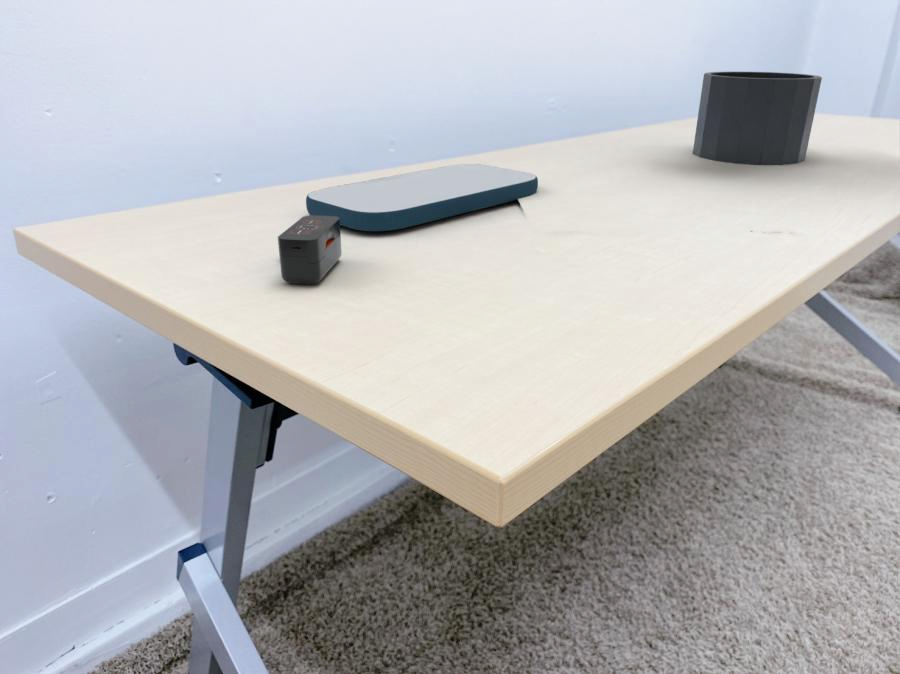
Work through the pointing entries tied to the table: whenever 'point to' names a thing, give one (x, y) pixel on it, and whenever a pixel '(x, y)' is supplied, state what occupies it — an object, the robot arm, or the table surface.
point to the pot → (756, 117)
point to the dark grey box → (309, 249)
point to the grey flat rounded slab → (420, 196)
